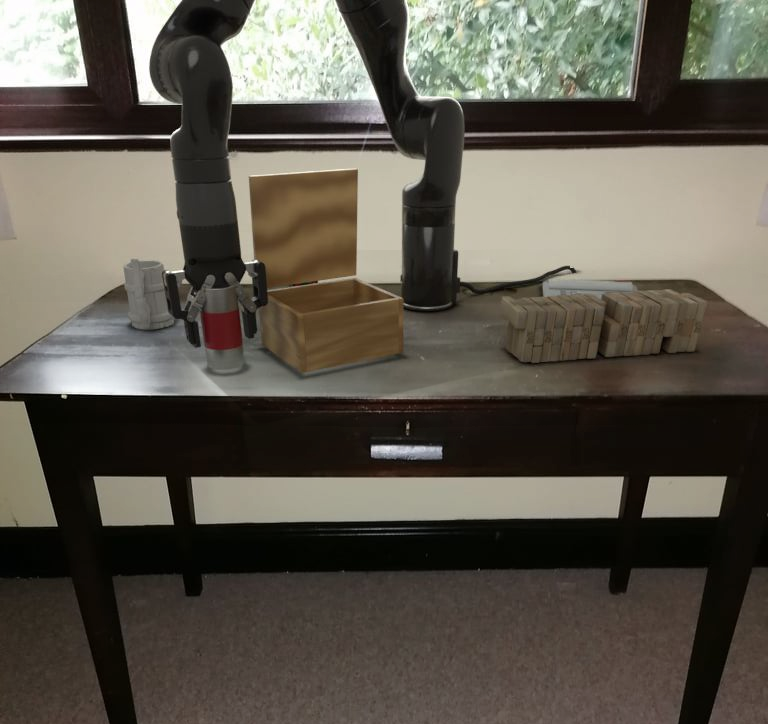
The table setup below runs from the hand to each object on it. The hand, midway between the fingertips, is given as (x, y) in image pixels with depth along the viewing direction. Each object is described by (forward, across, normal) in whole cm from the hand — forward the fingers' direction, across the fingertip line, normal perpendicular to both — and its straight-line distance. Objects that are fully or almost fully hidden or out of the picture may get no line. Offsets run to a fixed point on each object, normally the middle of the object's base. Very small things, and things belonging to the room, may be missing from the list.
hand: (223, 341), depth 103 cm
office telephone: (+4, +70, -3) cm, 70 cm away
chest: (+4, +16, -2) cm, 17 cm away
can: (+4, 0, 0) cm, 4 cm away
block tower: (+4, +51, -22) cm, 56 cm away
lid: (-13, +16, +4) cm, 21 cm away
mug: (+4, -4, +26) cm, 27 cm away
